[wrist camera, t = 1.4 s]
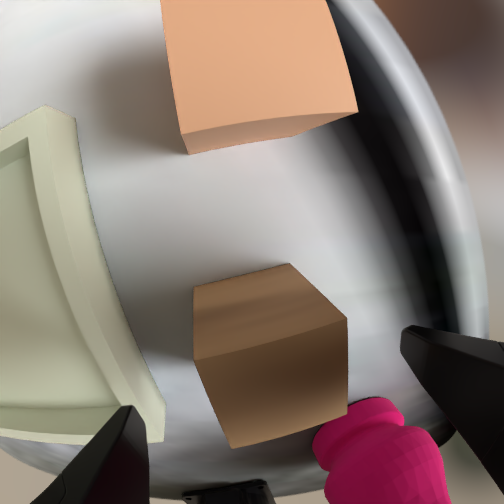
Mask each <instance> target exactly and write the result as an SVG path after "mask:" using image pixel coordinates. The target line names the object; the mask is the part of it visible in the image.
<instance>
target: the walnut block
mask: <svg viewBox="0 0 504 504" xmlns="http://www.w3.org/2000/svg"><path fill="white" fill-rule="evenodd" d="M193 357H194V363H195V366H196V368H197V371H198V373H199V376H200V378H201V381H202V383H203V386H204V388H205V391H206V393H207V395H208V398H209V400H210V403H211V405H212V407H213V409H214V412H215V414H216V416H217V419H218V421H219V423H220V425H221V427H222V430H223V432H224V434H225V436H226V438H227V440H228V442H229V444H230V447H231V449H234V448H239V447H244V446H248V445H252V444H256V443H260V442H264V441H268V440H272V439H276V438H279V437H283V436H286V435H289V434H293V433H296V432H299V431H302V430H305V429H308V428H311V427H314V426H317V425H320V424H323V423H325V422H328V421H331V420H333V419H336V418H338V417H341V416H343V415H346V414H347V402H348V328H347V317H346V316H345V315H344V314H343V313H341V312H340V311H339V310H338V309H337V308H336V307H335V306H334V305H333V304H332V303H331V302H330V301H329V300H328V299H327V298H326V297H325V296H324V295H323V294H322V293H321V292H320V291H319V290H318V289H316V288H315V287H314V286H313V285H312V284H311V283H310V282H309V281H308V280H307V279H306V278H305V277H304V276H303V275H302V274H301V273H300V272H299V271H298V270H296V269H295V268H294V267H293V266H292V265H291V264H290V263H289V264H285V265H281V266H277V267H273V268H269V269H265V270H261V271H257V272H253V273H249V274H245V275H241V276H237V277H233V278H228V279H224V280H220V281H216V282H212V283H208V284H203V285H199V286H195V287H194V293H193Z"/></svg>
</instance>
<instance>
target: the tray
mask: <svg viewBox="0 0 504 504" xmlns="http://www.w3.org/2000/svg"><path fill="white" fill-rule="evenodd" d="M123 405H133V406H135V408H136V409H137V411H138V412H139V414H140V416H141V417H142V419H143V420H144V422H145V425H146V434H147V443H156V442H164V429H165V413H166V402H165V401H164V399H163V397H162V395H161V393H160V391H159V389H158V387H157V385H156V383H155V381H154V379H153V377H152V375H151V373H150V371H149V369H148V367H147V365H146V363H145V361H144V359H143V356H142V354H141V352H140V350H139V347H138V345H137V343H136V341H135V338H134V336H133V334H132V331H131V329H130V326H129V324H128V322H127V319H126V317H125V314H124V311H123V309H122V306H121V304H120V301H119V298H118V295H117V293H116V290H115V287H114V284H113V281H112V278H111V275H110V272H109V269H108V266H107V263H106V260H105V257H104V254H103V250H102V247H101V243H100V240H99V236H98V233H97V229H96V225H95V222H94V218H93V214H92V210H91V205H90V201H89V197H88V192H87V188H86V183H85V178H84V173H83V167H82V162H81V156H80V150H79V143H78V136H77V129H76V120H75V118H74V117H71V116H69V115H67V114H65V113H63V112H60V111H58V110H56V109H54V108H51V107H49V106H47V105H44V106H42V107H40V108H38V109H36V110H34V111H32V112H30V113H28V114H26V115H25V116H23V117H21V118H19V119H18V120H16V121H14V122H12V123H11V124H9V125H7V126H6V127H4V128H3V129H1V130H0V436H5V437H10V438H16V439H23V440H30V441H37V442H47V443H58V444H74V445H87V443H88V442H89V441H90V440H91V439H92V438H93V437H94V436H95V434H96V433H97V432H98V431H99V430H100V429H101V428H102V427H103V426H104V424H105V423H106V422H107V421H108V420H109V419H110V418H111V417H112V415H113V414H114V413H115V412H116V411H117V410H118V409H119V408H120V407H121V406H123Z"/></svg>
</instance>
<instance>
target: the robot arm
mask: <svg viewBox="0 0 504 504" xmlns="http://www.w3.org/2000/svg"><path fill="white" fill-rule="evenodd" d="M400 351H401V354H402V356H403V357H404V359H405V360H406V362H407V363H408V365H409V367H410V368H411V370H412V371H413V373H414V374H415V376H416V377H417V379H418V380H419V382H420V383H421V385H422V386H423V387H424V389H425V390H426V391H427V392H428V394H429V395H430V396H431V397H432V399H433V400H434V401H435V402H436V404H437V405H438V406H439V407H440V409H441V410H442V411H443V413H444V414H445V415H446V416H447V418H448V419H449V420H450V422H451V423H452V424H453V425H454V427H455V428H456V429H457V431H458V432H459V433H460V435H461V436H462V437H463V439H464V440H465V441H466V443H467V444H468V445H469V447H470V448H471V449H472V450H473V452H474V453H475V455H476V456H477V457H478V459H479V460H480V461H481V463H482V465H483V466H484V467H485V469H486V470H487V472H488V473H489V474H490V476H491V477H492V479H493V480H494V481H495V483H496V484H497V486H498V487H499V489H500V490H501V492H502V493H503V495H504V342H497V341H493V340H487V339H481V338H476V337H471V336H465V335H460V334H455V333H450V332H445V331H440V330H435V329H430V328H425V327H420V326H415V325H411V326H408V327H406V328H404V329H403V330H402V332H401V343H400ZM182 500H183V501H184V502H186V503H187V504H276V503H275V501H274V498H273V496H272V494H271V491H270V489H269V487H268V484H267V482H266V481H257V482H252V483H247V484H242V485H237V486H232V487H226V488H220V489H213V490H205V491H196V492H186V493H182ZM30 504H150V502H149V457H148V446H147V434H146V425H145V422H144V420H143V419H142V417H141V416H140V414H139V412H138V411H137V409H136V408H135V406H133V405H123V406H121V407H120V408H119V409H118V410H117V411H116V412H115V413H114V414H113V415H112V417H111V418H110V419H109V420H108V421H107V422H106V423H105V424H104V426H103V427H102V428H101V429H100V430H99V431H98V432H97V433H96V434H95V436H94V437H93V438H92V439H91V440H90V441H89V442H88V443H87V445H86V446H85V447H84V448H83V449H82V450H81V451H80V452H79V453H78V455H77V456H76V457H75V458H74V459H73V460H72V461H71V462H70V463H69V465H68V466H67V467H66V468H65V469H64V470H63V471H62V474H59V476H58V477H57V478H56V479H55V480H54V481H53V482H52V483H51V484H50V485H49V487H47V488H46V489H45V490H44V491H43V492H42V493H41V494H40V495H39V496H38V497H37V498H36V499H34V501H32V502H31V503H30Z"/></svg>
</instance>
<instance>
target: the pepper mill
mask: <svg viewBox="0 0 504 504" xmlns="http://www.w3.org/2000/svg"><path fill="white" fill-rule="evenodd" d="M403 425H404V417H403V415H402V414H401V413H400V412H399V410H398V409H397V408H396V407H395V406H394V404H393V403H392V402H391V401H390V400H388V399H385V398H381V397H378V398H369V399H366V400H362V401H359V402H357V403H355V404H353V405H350V406H348V407H347V414H346V415H343V416H341V417H338V418H336V419H333V420H331V421H328V422H326V423H325V424H324V425H323V426H322V427H321V428H320V429H319V431H318V432H317V433H316V435H315V437H314V440H313V443H312V449H313V452H314V454H315V456H316V458H317V460H318V463H319V465H320V467H321V468H322V469H324V470H326V471H329V475H328V477H327V479H326V483H325V487H324V493H325V497H326V498H327V500H328V502H329V503H330V504H451V501H450V498H449V495H448V491H447V485H446V480H445V473H444V466H443V460H442V457H441V454H440V452H439V449H438V446H437V445H436V443H435V442H434V440H433V439H432V438H431V436H430V435H429V433H428V432H427V431H425V430H424V429H422V428H419V427H415V426H403Z"/></svg>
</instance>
